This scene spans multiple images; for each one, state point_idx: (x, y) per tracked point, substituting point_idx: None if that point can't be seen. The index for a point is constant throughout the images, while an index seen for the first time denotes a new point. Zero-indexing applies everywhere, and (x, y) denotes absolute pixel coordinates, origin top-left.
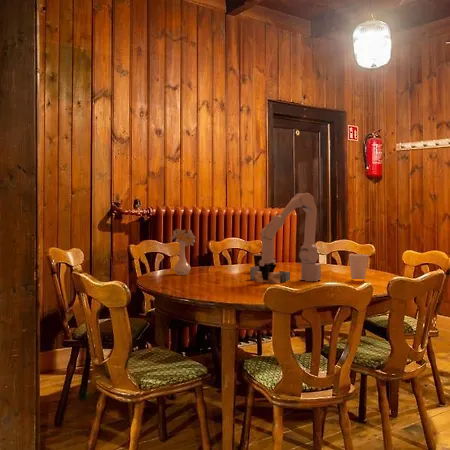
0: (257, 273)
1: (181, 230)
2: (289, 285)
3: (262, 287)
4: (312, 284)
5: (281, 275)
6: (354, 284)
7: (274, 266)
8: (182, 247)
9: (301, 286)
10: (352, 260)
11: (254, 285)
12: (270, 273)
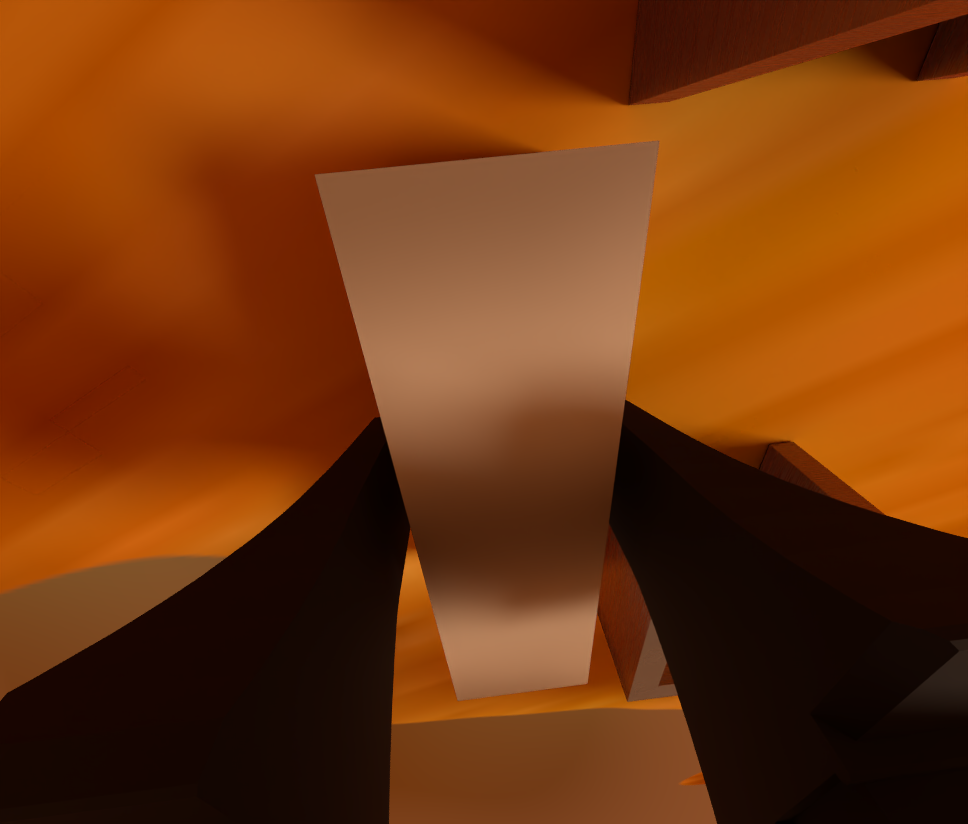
0: (360, 295)
1: None
2: (421, 653)
3: (34, 567)
4: (586, 708)
5: (619, 625)
6: (690, 783)
7: (713, 778)
8: None
9: (438, 708)
10: None
11: (20, 415)
12: (436, 620)
